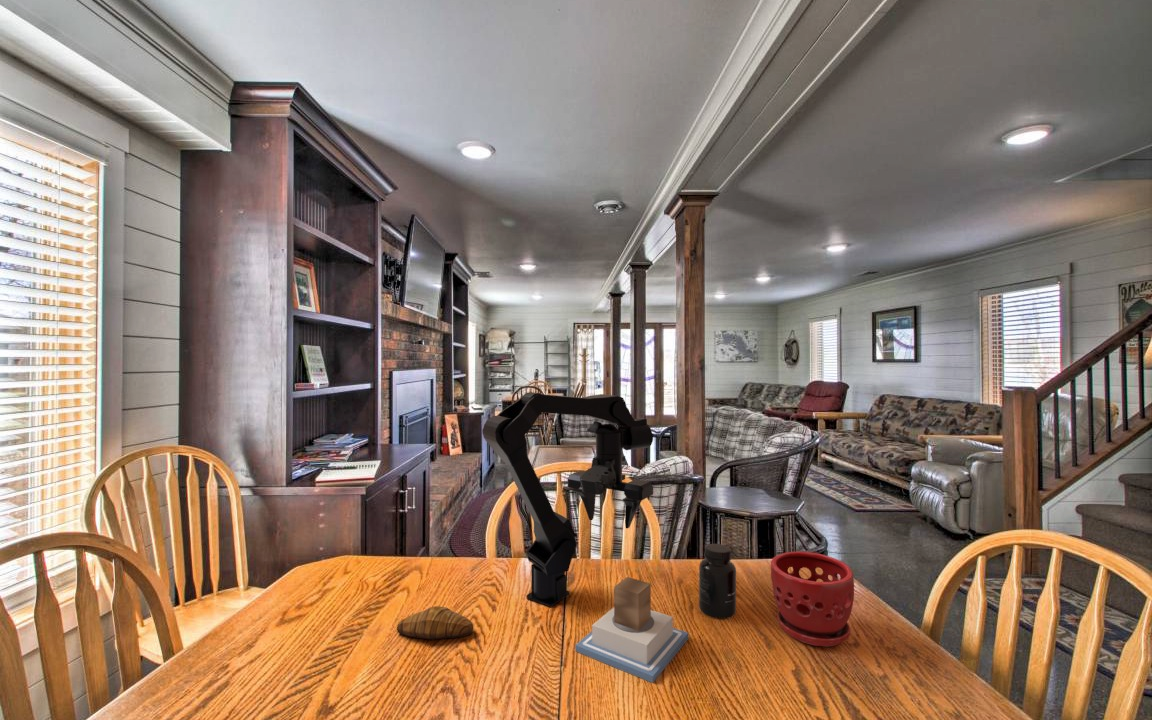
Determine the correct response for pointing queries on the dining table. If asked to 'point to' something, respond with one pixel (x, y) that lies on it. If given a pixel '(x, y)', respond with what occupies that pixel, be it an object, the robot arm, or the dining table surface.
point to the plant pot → (813, 597)
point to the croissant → (435, 624)
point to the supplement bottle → (717, 582)
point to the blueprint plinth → (630, 667)
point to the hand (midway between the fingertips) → (609, 523)
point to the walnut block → (632, 603)
